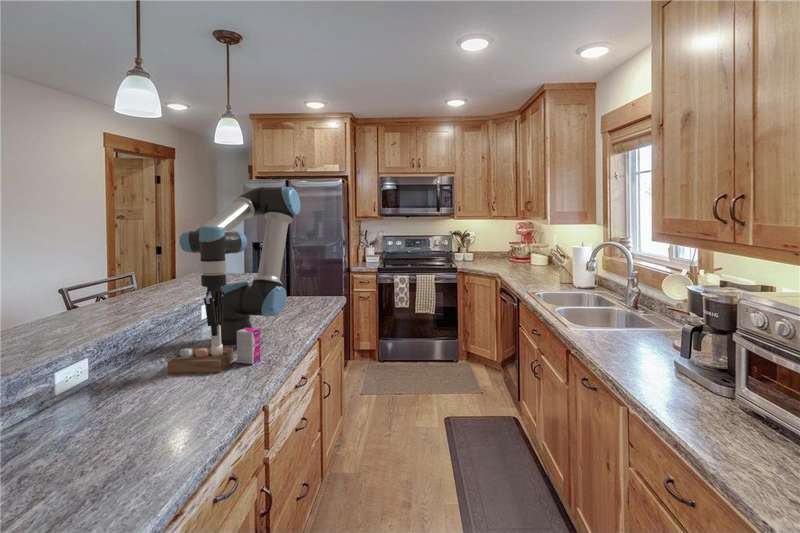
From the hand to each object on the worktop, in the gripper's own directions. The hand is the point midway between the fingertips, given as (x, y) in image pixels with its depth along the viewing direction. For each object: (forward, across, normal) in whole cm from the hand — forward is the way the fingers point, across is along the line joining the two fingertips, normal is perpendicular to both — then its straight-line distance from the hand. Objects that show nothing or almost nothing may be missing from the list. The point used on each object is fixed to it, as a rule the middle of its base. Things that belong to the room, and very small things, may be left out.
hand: (216, 344), depth 151 cm
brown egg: (+6, 0, -5) cm, 8 cm away
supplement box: (+8, -4, +9) cm, 13 cm away
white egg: (+4, 0, 0) cm, 4 cm away
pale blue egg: (+6, 0, -10) cm, 11 cm away
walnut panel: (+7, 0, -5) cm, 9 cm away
